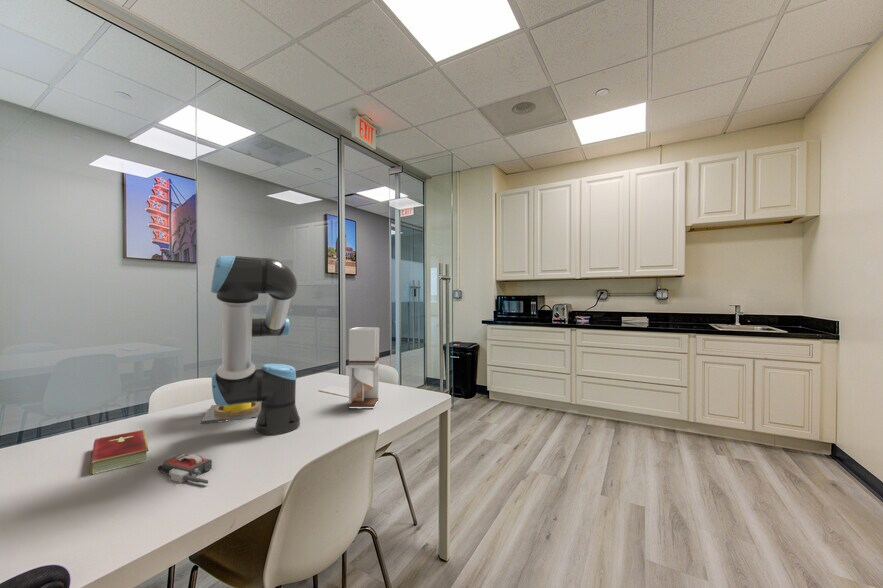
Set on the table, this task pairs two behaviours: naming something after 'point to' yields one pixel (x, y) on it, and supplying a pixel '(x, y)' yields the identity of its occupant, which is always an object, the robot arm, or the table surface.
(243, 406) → the tape roll
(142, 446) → the hardcover book
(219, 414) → the ring collar plate
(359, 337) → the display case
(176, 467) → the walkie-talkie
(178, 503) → the table surface
